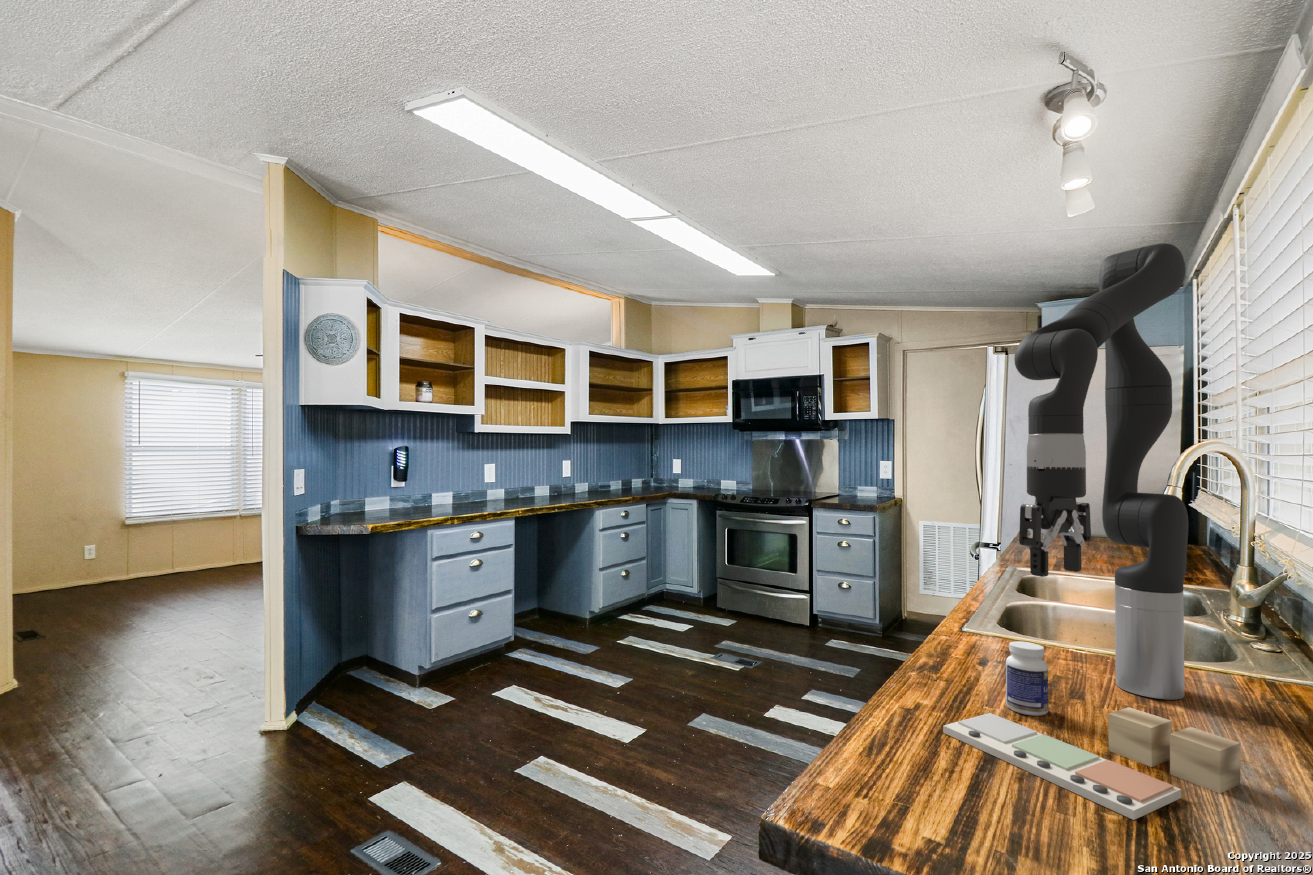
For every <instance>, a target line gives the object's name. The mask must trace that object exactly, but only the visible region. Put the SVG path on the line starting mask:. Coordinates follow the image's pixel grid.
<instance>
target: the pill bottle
mask: <svg viewBox="0 0 1313 875" xmlns="http://www.w3.org/2000/svg"><path fill="white" fill-rule="evenodd" d="M1008 646H1009V648H1008V650H1009V652H1010V653H1011V655H1009V656H1008V657H1007V658H1006V660H1005V705H1006V706H1007V708H1008V709H1010V710H1011V711H1013V712H1015V713H1019V714H1022V715H1027V716H1032V717H1033V716H1034V717H1037V716H1038V717H1040V716H1042V717H1043V716H1044V715H1047V714H1048V712H1049V667H1048V664H1047V663H1046V661H1044V660H1043V657H1044V656H1045V647H1044V646H1042V645H1040V644H1037V643H1033V642H1030V641H1028V642H1027V641H1019V640H1018V641H1017V640H1016V641H1011V642H1009V645H1008Z"/></svg>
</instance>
